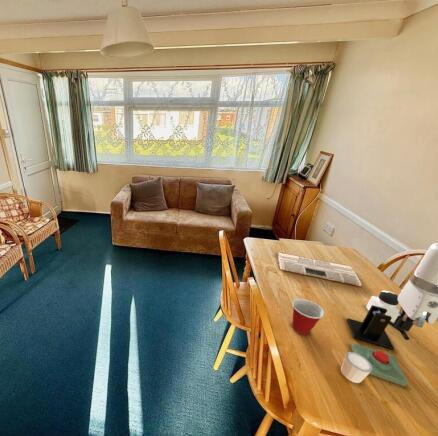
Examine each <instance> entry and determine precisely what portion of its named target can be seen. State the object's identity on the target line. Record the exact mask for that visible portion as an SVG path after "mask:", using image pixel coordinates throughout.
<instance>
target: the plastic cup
mask: <svg viewBox="0 0 438 436" xmlns="http://www.w3.org/2000/svg"><path fill="white" fill-rule="evenodd" d="M291 305H292V310H293V311H292V312H293V313H292V323H291V324H292V325H291V326H292V328H293V330H294V331H295V332H296V333H298V334H301V335H308V334H309V333H310V331H311V330H313V328H314V327H315V326H316V324H317V323H318V322H319V321H320V320H321V319H322V318H324V316H325V310H324V309H323V308H322V307H321V306H320V305H319V304H317V303H315V301H311V300H309V299H304V298H296V299H293V300H292V302H291Z"/></svg>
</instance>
